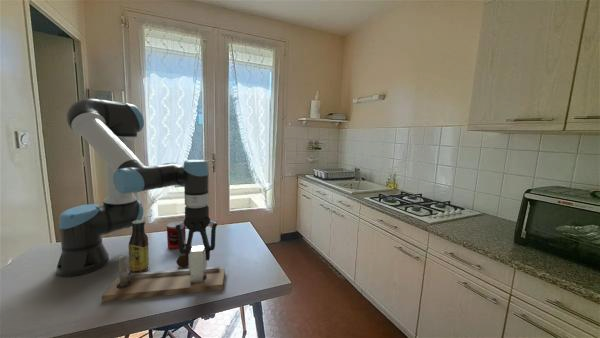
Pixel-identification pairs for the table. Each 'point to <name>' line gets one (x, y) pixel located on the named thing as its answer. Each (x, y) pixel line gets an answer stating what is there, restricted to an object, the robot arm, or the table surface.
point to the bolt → (182, 260)
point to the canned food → (174, 235)
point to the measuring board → (160, 283)
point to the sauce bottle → (138, 248)
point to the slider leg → (197, 264)
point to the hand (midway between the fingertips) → (198, 268)
